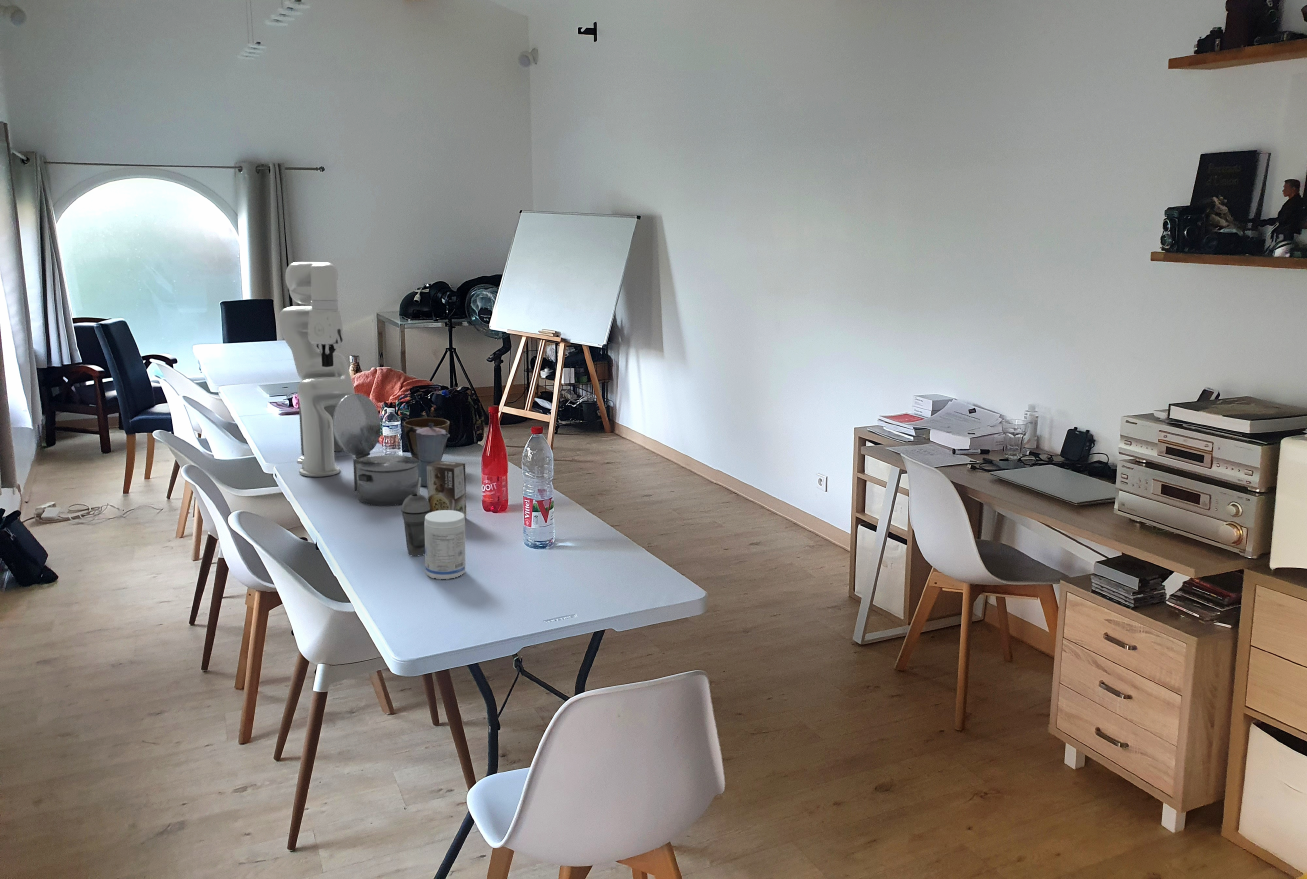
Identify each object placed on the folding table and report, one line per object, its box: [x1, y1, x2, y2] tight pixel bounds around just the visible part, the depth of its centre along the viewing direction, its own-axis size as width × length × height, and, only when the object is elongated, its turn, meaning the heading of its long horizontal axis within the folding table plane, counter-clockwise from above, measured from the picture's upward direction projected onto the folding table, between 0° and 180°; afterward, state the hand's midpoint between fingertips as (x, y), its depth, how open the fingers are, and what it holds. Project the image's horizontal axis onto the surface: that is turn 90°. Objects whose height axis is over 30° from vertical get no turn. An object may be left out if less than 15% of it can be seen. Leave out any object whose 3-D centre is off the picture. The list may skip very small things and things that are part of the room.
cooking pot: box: [352, 454, 419, 507], centre depth 290 cm, size 20×22×11 cm
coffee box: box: [426, 460, 467, 519], centre depth 270 cm, size 9×6×16 cm
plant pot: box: [403, 417, 450, 461], centre depth 324 cm, size 15×15×16 cm
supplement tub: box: [424, 510, 466, 580], centre depth 229 cm, size 10×10×15 cm
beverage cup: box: [400, 477, 431, 557], centre depth 242 cm, size 7×7×20 cm
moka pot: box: [405, 423, 450, 487], centre depth 305 cm, size 10×15×20 cm, turn 78°
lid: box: [333, 393, 382, 459], centre depth 291 cm, size 20×19×3 cm
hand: (327, 366), depth 291 cm, fingers closed
